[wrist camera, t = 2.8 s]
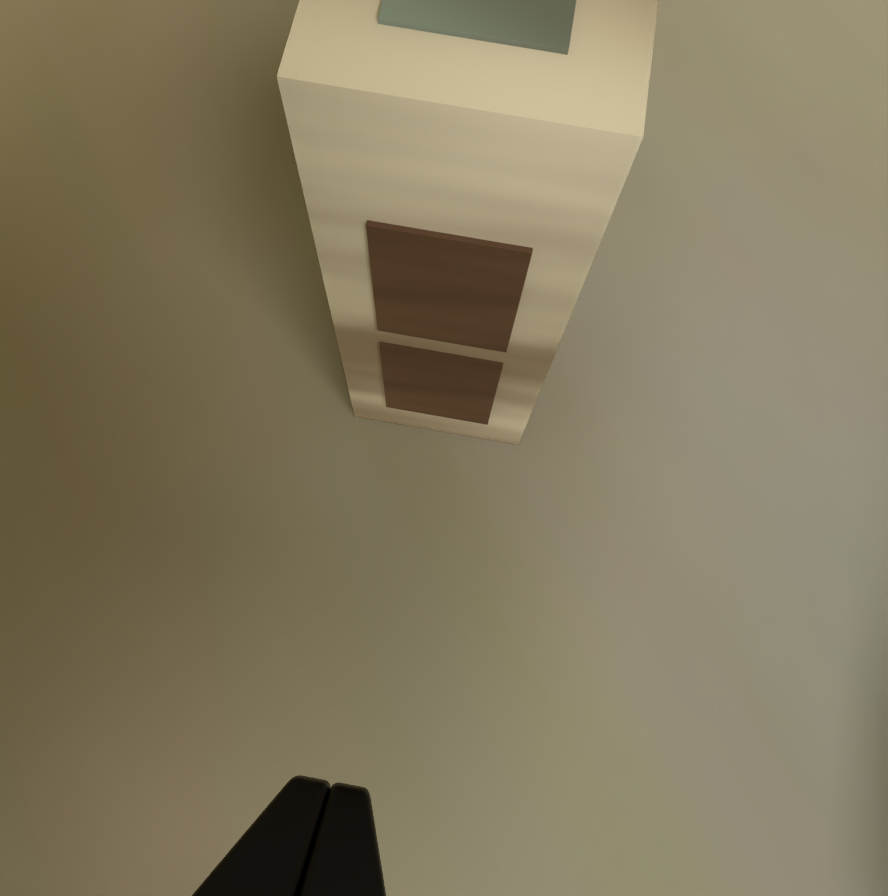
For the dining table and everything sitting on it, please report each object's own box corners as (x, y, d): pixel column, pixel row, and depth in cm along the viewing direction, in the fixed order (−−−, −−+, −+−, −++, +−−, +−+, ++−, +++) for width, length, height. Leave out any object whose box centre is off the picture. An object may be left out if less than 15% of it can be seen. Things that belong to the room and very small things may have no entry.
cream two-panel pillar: (517, 448, 21) (644, 137, 9) (353, 419, 21) (273, 77, 9) (540, 298, 22) (675, -135, 10) (386, 272, 22) (352, -186, 11)
